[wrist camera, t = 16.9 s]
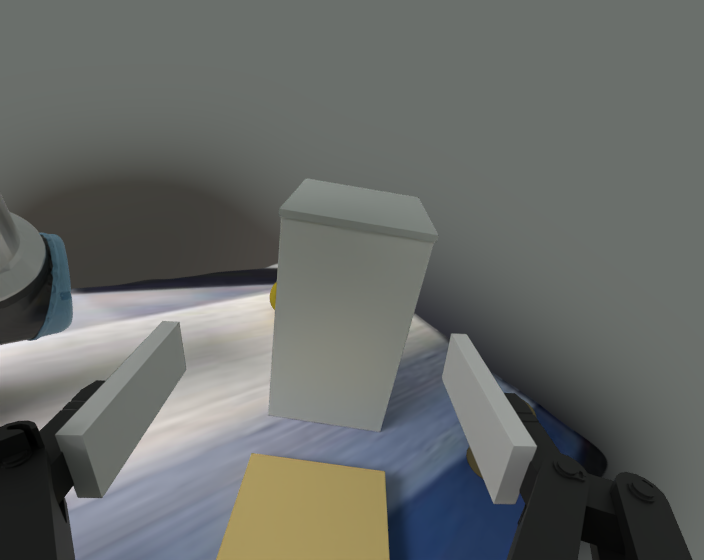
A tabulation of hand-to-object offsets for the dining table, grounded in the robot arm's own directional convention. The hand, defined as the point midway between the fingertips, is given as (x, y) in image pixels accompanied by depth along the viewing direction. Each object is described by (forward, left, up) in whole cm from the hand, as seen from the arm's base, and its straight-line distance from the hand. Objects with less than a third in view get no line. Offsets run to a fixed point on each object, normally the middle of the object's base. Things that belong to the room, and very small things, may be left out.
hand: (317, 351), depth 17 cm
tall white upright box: (-6, +28, -30) cm, 41 cm away
